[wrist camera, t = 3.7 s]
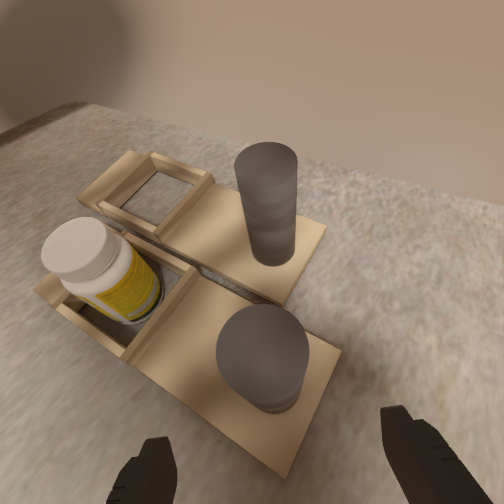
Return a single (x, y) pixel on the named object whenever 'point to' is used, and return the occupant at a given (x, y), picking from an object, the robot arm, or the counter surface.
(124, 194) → the empty strip
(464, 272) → the counter surface
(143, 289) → the supplement bottle
